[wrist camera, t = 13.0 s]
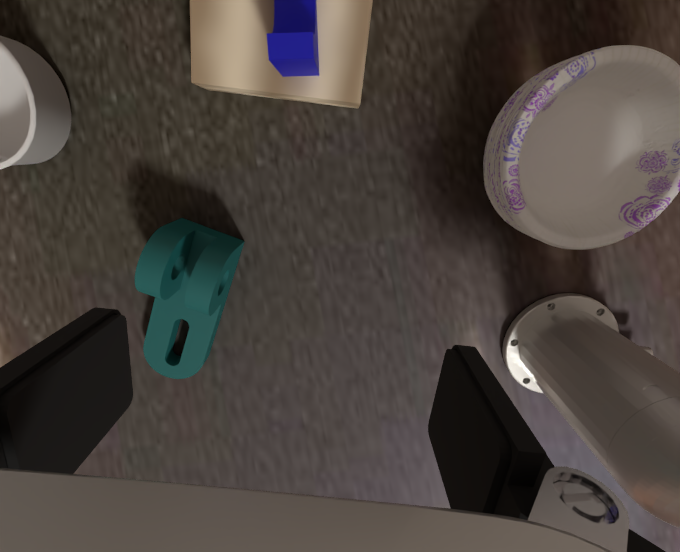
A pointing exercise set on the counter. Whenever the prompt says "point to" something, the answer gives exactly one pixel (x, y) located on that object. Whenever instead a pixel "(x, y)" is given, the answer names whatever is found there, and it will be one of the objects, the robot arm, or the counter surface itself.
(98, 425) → the robot arm
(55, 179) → the counter surface
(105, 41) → the counter surface
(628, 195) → the paper bowls
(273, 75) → the plate
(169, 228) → the bracket
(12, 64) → the saucepan
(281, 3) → the blue stepped block
